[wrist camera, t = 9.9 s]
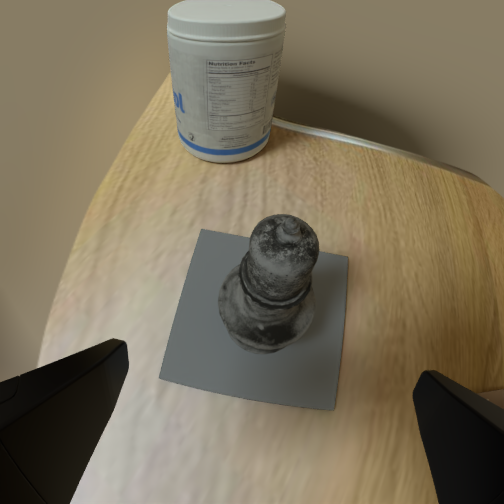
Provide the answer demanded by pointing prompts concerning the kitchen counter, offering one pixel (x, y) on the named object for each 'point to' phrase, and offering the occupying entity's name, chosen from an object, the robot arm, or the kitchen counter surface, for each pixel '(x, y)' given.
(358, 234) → the kitchen counter surface
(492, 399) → the letter tile
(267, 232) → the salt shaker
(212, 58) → the supplement tub
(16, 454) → the robot arm
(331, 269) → the slate mat
